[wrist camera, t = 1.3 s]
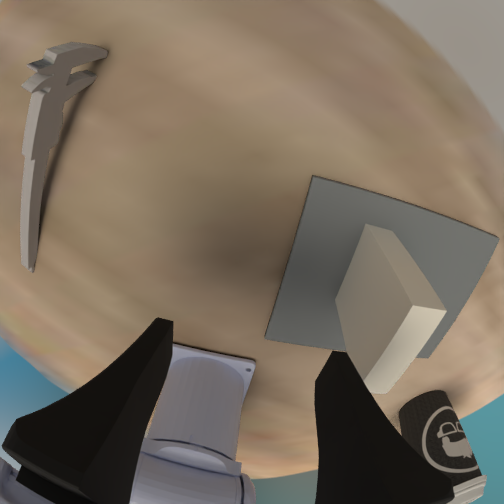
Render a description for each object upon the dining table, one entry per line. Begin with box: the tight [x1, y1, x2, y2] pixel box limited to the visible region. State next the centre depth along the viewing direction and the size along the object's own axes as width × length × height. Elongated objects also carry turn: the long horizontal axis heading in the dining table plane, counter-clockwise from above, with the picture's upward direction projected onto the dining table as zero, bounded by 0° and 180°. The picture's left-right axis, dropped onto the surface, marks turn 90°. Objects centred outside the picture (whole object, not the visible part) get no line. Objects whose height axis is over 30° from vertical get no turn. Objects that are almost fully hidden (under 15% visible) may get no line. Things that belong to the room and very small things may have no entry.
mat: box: [265, 175, 499, 358], centre depth 20 cm, size 13×16×1 cm
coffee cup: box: [399, 390, 486, 504], centre depth 22 cm, size 10×10×15 cm
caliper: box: [20, 42, 108, 273], centre depth 15 cm, size 20×1×6 cm, turn 145°
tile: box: [335, 224, 447, 394], centre depth 16 cm, size 6×2×8 cm, turn 169°
